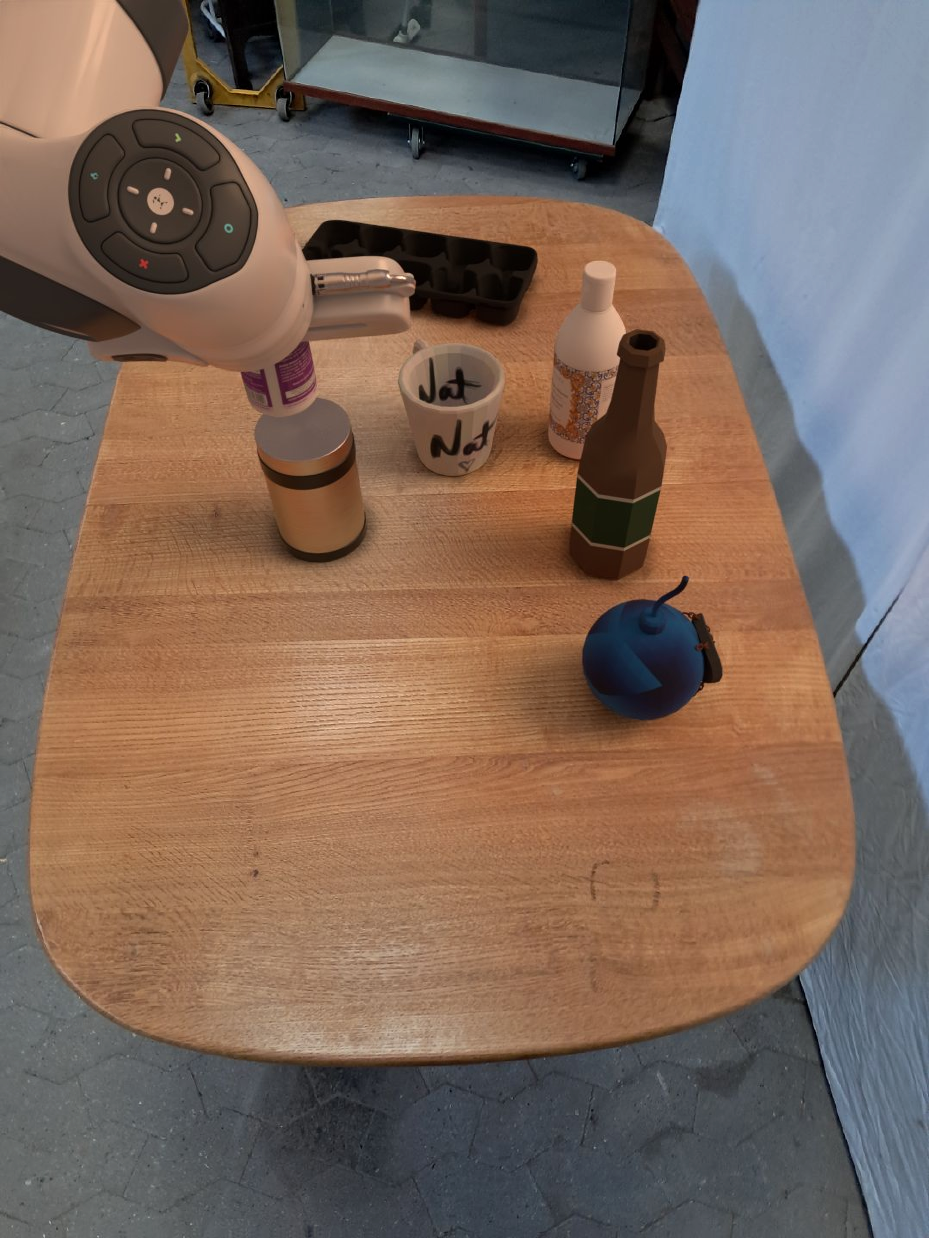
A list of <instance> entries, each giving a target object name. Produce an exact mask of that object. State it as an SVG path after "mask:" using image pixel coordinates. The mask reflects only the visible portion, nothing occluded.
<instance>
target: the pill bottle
mask: <svg viewBox="0 0 929 1238" xmlns="http://www.w3.org/2000/svg"><path fill="white" fill-rule="evenodd" d="M239 373H240V376H241V379H242V383H243V387H244V390H245V393H246V396H247V400H248V403H249V404H250V406H251V407H252V408H253V409H254V410H255V411H257V412H258V413H260V414H262V415H263V414H265V415H269V416H273V417H287V416H291V415H295V414H297V413H300V412H302V411H304V410H305V409H307V408H308V407H309V406H310V405H311V404H312V403H313V402H314V400H315V399H316V397H317V395H318V393H319V387H318V381H317V374H316V369H315V364H314V358H313V353H312V350H311V345H310V341H307V342H300V343H299V345H298V346H297V347H296V348H295V349H294V350H293V351H292V352H291V353H290V354H289V355H288V356H287V357H285V358H284V359H282V360H281V361H279V362H278V363H276V364H274V365H272V366H269V367H267V368H264V369H261V370H256V371H249V372H239Z"/></svg>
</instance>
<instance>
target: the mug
mask: <svg viewBox="0 0 929 1238" xmlns="http://www.w3.org/2000/svg"><path fill="white" fill-rule="evenodd" d="M397 378H398V379H397V384H398V388H399V392H400V395H401V398H402V403H403V406H404V409H405V414H406V416H407V420H408V423H409V428H410V431H411V434H412V438H413V441H414V445H415V448H416V451H417V455H418V458H419V460H420V461H421V463H422V464H423V465H424V466H425V468H426V469H428V470H430V471H432V472H433V473H435V474H439V475H442V476H446V477H452V476H453V477H459V476H464V475H469V474H471V473H473V472H475V471H478V470H479V469H480V468H481V467H482V466H484V465H485V464H486V463H487V460H488V458H489V457H490V455H491V453H492V452H491V451H492V446H493V441H494V437H495V434H496V433H495V432H496V428H497V423H498V418H499V413H500V409H501V404H502V399H503V394H504V390H505V385H506V372H505V370H504V368H503V366H502V364H501V361H500V360H499V359H498V358H497V357H496V356H495V355H493V354H492V352H490V351H488V350H486V349H483V348H481V347H479V346H477V345H472V344H468V343H465V342H464V343H463V342H444V343H439V344H438V343H437V344H433V345H429V343H428V342H427V341H426V340H425V339H421V338H420V339H417V340H415V341H414V342H413V346H412V354H411V356H409V357H408V358H407V359H405V360H404V362H403V364H402V366H401V367H400V368H399V372H398V377H397Z"/></svg>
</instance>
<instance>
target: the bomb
mask: <svg viewBox="0 0 929 1238" xmlns="http://www.w3.org/2000/svg"><path fill="white" fill-rule="evenodd" d="M689 581H690V577H689V576H688V575H683V576H682V577H681V580H680V583H679V584H678V585H677V586H676V587H675V588H673V589H672V590H670V591H668V592H667V593H665V594H663V595H661V596H659V598H658V599H657V600H656V599H648V598H639V599H637V598H636V599H631V600H627V601H624V602H620V603H618V604H616V605H614V606H612V607H610V608H609V609H608V610H606V611H605V612H603V613H602V614H601V615H600V616H599V617H598V618H597V619H596V620H595V622H594V623H593V624H592V626H591V627H590V629H589V631H588V633H587V634H586V636H585V639H584V643H583V646H582V649H581V665H582V673H583V676H584V679H585V682H586V684H587V686H588V689H589V690H590V692H591V694H592V695H593V696H594V698H595V699H596V700H597V701H598V702H599V703H600V704H601V705H603V706H604V707H605V708H606V709H607V710H609V711H610V712H612V713H614V714H615V715H617V716H620V717H623V718H626V719H629V720H635V721H642V722H643V721H645V722H646V721H654V720H659V719H664V718H666V717H668V716H670V715H673V714H675V713H676V712H678V711H679V710H681V709H682V708H683V707H685V705H687V704H688V703H690V701H691V700H692V699H693V698H694V697H696V695H698V693H699V692H701V691H703V689H704V688H705V687H704V686H705V684H706V685H707V684H708V685H709V684H717V683H720V682H721V680H722V678H723V675H724V673H723V672H724V671H723V670H724V669H723V665H722V660H721V658H720V655H719V652H718V651H717V647H716V640H714V635H713V634H712V633H711V627H710V626H709V625H707V622H706V620H705V616H704V614H703V613H702V612H699V613H695V612H693V611H690V612H689V611H688V612H687V611H681V610H679V609H677V608H675V607H674V606H672V605H670V604H668V603H666V602H668V601H669V600H671V599H673V598H675V597H677V596H678V595H680V594H681V593H682V592H683V591H684V590H685V589H686V588H687V586H688V583H689ZM690 619H691V620H690Z"/></svg>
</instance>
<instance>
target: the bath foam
mask: <svg viewBox="0 0 929 1238" xmlns="http://www.w3.org/2000/svg"><path fill="white" fill-rule="evenodd" d="M616 279H617V268H616V266H615V265H614V264H612V263H611V262H610V261H609V262H608V261H606V260H592V261H590V262H588V263H587V264H585V265H584V267H583V270H582V279H581V280H582V281H581V289H580V290H581V291H580V301H579V302H578V303H577V304H576V305H575V306H574V307H573V309H571V310H570V312H569V313H568V314H567V315H566V317H565V318H564V319H563V321H562V323H561V325H560V326H559V329H558V331H557V334H556V337H555V343H554V349H553V361H552V363H553V364H552V372H551V373H552V374H551V375H552V376H551V386H550V387H551V389H550V400H549V414H548V429H547V438H548V441H549V443H550V445H551V446H552V448H553V449H554V450H555V451H556V452H557V453H559V454H560V455H562V456H564V457H566V458H569V459H572V460H573V459H574V460H580V459H581V455H582V450H583V446H584V442H585V437H586V434H587V433H588V431H589V429H590V428H591V426H592V425H593V423H594V422H596V421H597V420H598V419H600V418H601V417H602V416H603V415H605V414H606V412H607V409H608V407H609V404H610V401H611V398H612V393H613V389H614V384H615V380H616V375H617V371H618V366H619V361H620V357H618V356H617V351H618V346H619V342H620V340H621V338H622V336H623V335H624V334H626V333H627V331H626V327H625V325H624V322H623V320H622V318H621V316H620V315H619V313H618V311H617V309H616V308H615V306H614V304H613V300H614V292H615V284H616Z"/></svg>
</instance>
